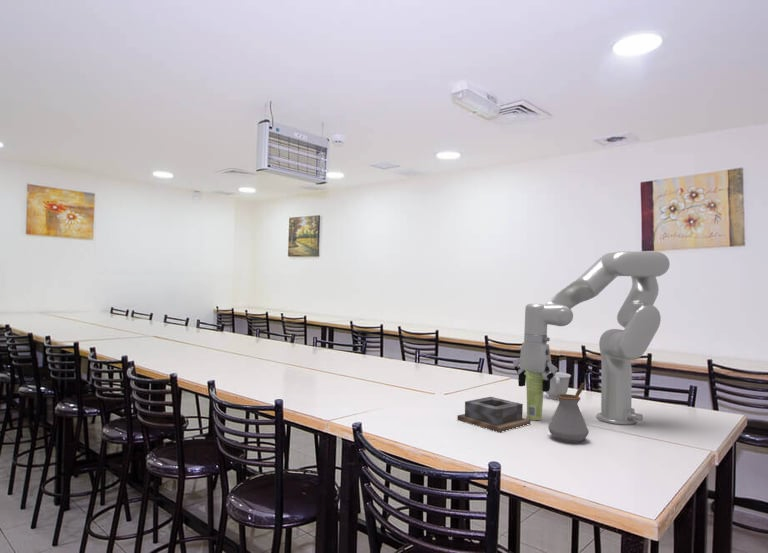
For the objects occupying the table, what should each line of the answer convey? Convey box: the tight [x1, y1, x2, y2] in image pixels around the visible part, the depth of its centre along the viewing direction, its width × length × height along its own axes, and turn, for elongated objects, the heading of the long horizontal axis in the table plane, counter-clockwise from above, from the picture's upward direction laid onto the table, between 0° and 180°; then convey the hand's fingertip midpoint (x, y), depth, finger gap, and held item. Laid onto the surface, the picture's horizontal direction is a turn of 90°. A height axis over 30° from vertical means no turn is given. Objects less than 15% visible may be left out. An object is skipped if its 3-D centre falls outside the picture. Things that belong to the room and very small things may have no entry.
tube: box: [525, 370, 544, 421], centre depth 169 cm, size 6×5×20 cm
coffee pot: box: [547, 382, 590, 444], centre depth 151 cm, size 21×12×15 cm, turn 141°
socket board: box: [456, 396, 531, 433], centre depth 164 cm, size 18×16×6 cm
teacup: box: [545, 371, 572, 400], centre depth 202 cm, size 12×15×10 cm
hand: (533, 388), depth 169 cm, fingers open, 9 cm apart
